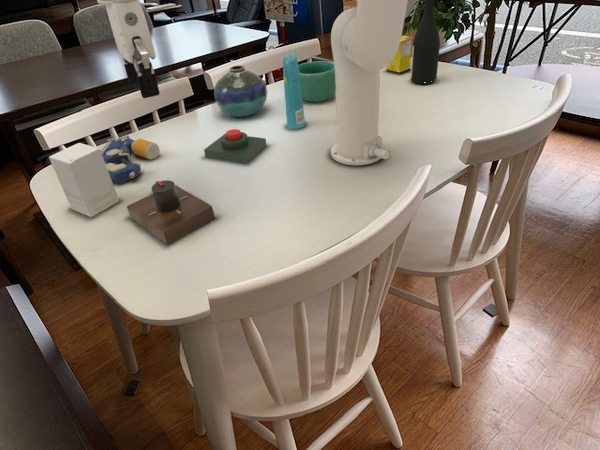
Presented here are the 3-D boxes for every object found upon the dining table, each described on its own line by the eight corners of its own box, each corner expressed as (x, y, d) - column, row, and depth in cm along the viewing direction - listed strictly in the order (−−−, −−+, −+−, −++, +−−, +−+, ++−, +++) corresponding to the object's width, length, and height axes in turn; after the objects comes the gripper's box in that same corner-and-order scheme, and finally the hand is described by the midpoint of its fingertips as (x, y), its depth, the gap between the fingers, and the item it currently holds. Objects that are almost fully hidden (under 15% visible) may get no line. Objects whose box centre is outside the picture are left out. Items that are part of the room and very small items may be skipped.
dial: (184, 204, 89) (178, 183, 86) (164, 214, 87) (158, 193, 84) (172, 197, 92) (166, 176, 89) (153, 206, 90) (146, 185, 87)
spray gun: (168, 143, 121) (113, 148, 122) (163, 128, 118) (107, 133, 119) (146, 185, 104) (82, 189, 105) (140, 169, 101) (75, 174, 102)
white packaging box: (120, 201, 98) (101, 148, 91) (90, 218, 93) (68, 163, 86) (99, 193, 102) (79, 141, 95) (70, 209, 97) (46, 156, 90)
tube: (292, 120, 128) (285, 49, 117) (308, 121, 126) (303, 49, 115) (283, 131, 122) (275, 58, 111) (300, 132, 121) (294, 58, 109)
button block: (266, 146, 115) (264, 131, 113) (247, 164, 108) (244, 149, 106) (226, 140, 120) (224, 126, 117) (205, 157, 112) (202, 142, 110)
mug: (319, 108, 133) (317, 76, 128) (288, 100, 140) (285, 70, 135) (352, 91, 143) (352, 60, 138) (321, 85, 150) (320, 55, 145)
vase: (212, 110, 139) (203, 66, 131) (259, 99, 143) (254, 56, 136) (225, 127, 127) (217, 80, 119) (276, 115, 131) (271, 69, 124)
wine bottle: (405, 82, 146) (411, -23, 129) (421, 75, 150) (429, -27, 133) (424, 87, 141) (434, -21, 124) (441, 81, 145) (452, -26, 127)
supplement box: (397, 67, 160) (398, 34, 153) (410, 70, 156) (412, 36, 149) (385, 71, 157) (386, 38, 150) (399, 74, 153) (401, 40, 146)
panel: (215, 218, 90) (212, 205, 88) (167, 245, 84) (163, 231, 82) (176, 195, 98) (173, 182, 97) (130, 218, 92) (126, 205, 91)
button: (244, 136, 112) (243, 129, 111) (236, 142, 110) (235, 135, 109) (231, 134, 114) (230, 128, 113) (224, 140, 111) (222, 134, 110)
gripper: (153, -8, 73) (177, 97, 82) (128, -17, 85) (151, 75, 95) (105, -1, 70) (135, 106, 80) (86, -12, 82) (114, 82, 92)
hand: (144, 89), depth 87 cm, fingers open, 9 cm apart
